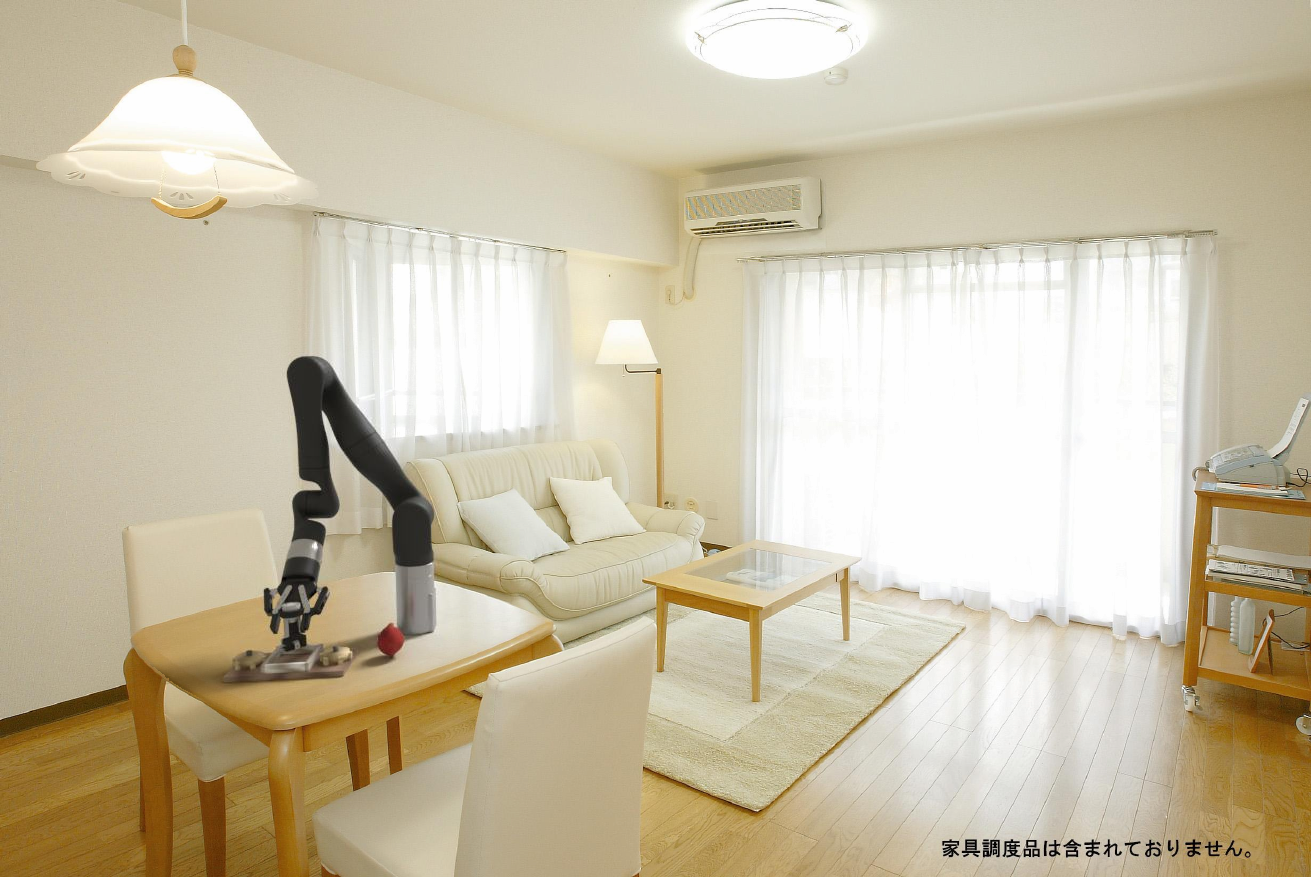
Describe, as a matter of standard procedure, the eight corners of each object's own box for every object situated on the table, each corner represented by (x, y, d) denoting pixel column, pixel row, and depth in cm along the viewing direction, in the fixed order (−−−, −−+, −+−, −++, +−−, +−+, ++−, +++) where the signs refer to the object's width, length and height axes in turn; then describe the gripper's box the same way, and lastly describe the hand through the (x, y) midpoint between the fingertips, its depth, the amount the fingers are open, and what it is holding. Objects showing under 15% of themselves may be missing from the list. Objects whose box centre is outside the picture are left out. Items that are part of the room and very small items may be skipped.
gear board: (358, 653, 177) (358, 635, 177) (345, 676, 165) (344, 657, 164) (244, 659, 174) (243, 641, 173) (221, 682, 161) (220, 663, 160)
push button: (283, 656, 165) (280, 610, 164) (269, 651, 168) (266, 607, 167) (312, 646, 170) (309, 602, 169) (298, 642, 173) (295, 599, 172)
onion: (388, 663, 172) (387, 628, 171) (372, 658, 175) (370, 623, 174) (409, 655, 177) (408, 621, 176) (392, 650, 180) (392, 616, 179)
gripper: (265, 555, 173) (248, 625, 163) (332, 554, 175) (319, 623, 165) (274, 572, 179) (257, 640, 168) (339, 570, 181) (326, 638, 171)
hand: (288, 631), depth 167 cm, fingers closed on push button, 5 cm apart
